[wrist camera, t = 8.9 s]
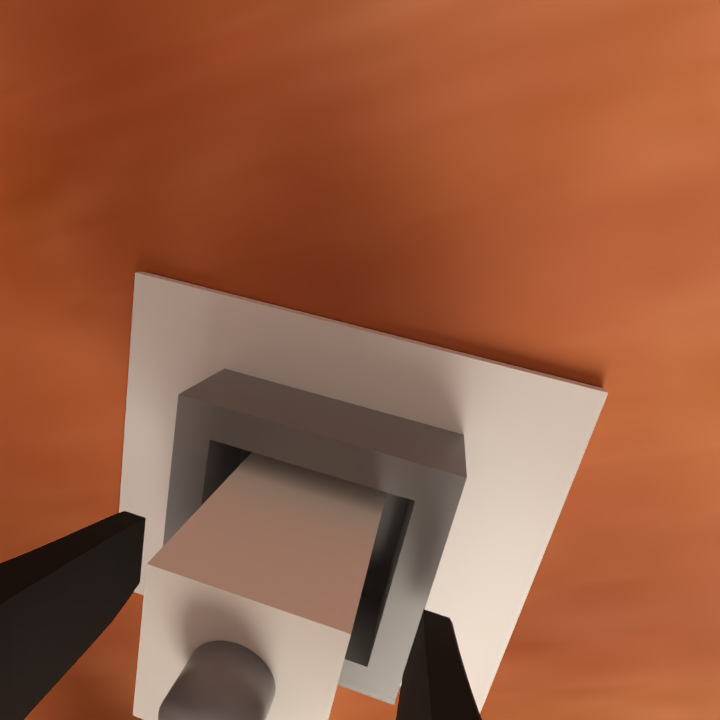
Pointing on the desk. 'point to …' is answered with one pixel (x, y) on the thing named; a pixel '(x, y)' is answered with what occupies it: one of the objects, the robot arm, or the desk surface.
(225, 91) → the desk surface
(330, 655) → the block
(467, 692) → the robot arm
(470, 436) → the socket dock
